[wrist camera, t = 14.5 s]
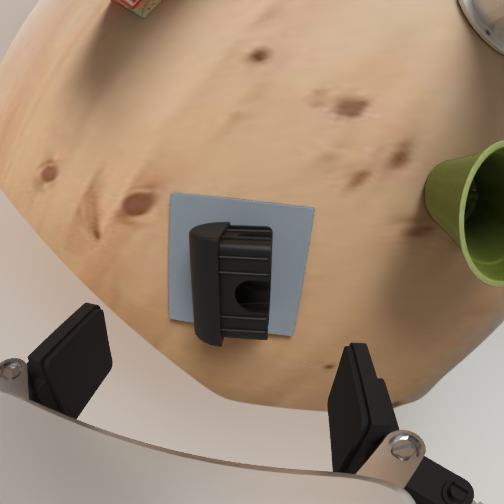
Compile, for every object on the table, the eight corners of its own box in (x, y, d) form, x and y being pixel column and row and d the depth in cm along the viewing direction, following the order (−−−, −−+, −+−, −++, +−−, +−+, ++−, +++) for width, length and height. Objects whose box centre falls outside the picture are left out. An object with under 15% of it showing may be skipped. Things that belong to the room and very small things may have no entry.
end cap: (200, 218, 31) (179, 237, 25) (273, 221, 30) (271, 241, 24) (203, 310, 34) (187, 344, 28) (269, 314, 34) (266, 351, 27)
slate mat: (313, 207, 31) (314, 209, 30) (293, 331, 35) (293, 336, 34) (173, 192, 31) (170, 194, 30) (171, 314, 36) (169, 318, 35)
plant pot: (472, 257, 30) (528, 298, 20) (390, 229, 31) (437, 269, 20) (501, 162, 27) (566, 174, 16) (420, 121, 27) (480, 112, 16)
